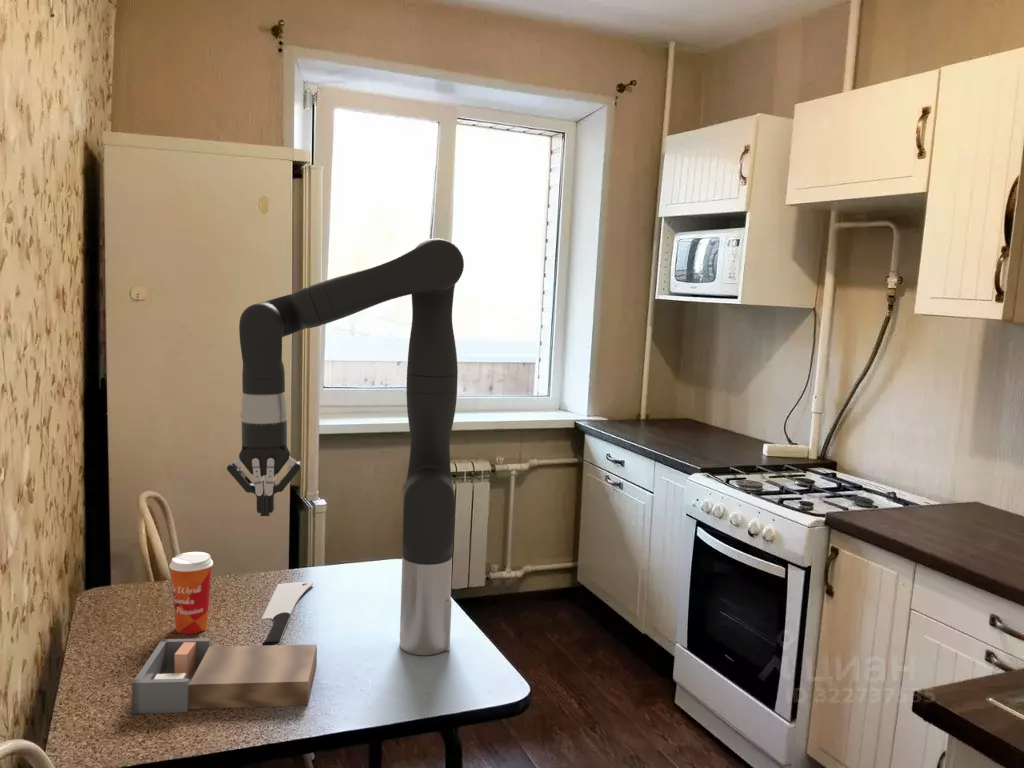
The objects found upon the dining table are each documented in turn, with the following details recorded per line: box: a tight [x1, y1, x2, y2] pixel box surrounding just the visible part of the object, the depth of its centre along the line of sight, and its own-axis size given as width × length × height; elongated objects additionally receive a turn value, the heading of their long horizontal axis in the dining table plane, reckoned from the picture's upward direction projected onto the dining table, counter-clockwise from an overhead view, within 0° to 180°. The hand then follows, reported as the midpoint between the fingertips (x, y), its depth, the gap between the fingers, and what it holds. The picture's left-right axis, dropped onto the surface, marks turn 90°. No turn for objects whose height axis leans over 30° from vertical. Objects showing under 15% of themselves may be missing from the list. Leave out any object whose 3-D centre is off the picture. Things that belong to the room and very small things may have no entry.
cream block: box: [154, 673, 186, 679], centre depth 125 cm, size 4×4×2 cm
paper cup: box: [169, 551, 214, 635], centre depth 149 cm, size 8×8×14 cm
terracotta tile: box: [175, 642, 196, 679], centre depth 131 cm, size 4×4×2 cm
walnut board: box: [189, 644, 318, 710], centre depth 129 cm, size 18×13×4 cm
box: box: [131, 637, 212, 715], centre depth 127 cm, size 8×15×5 cm, turn 8°
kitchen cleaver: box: [261, 580, 314, 646], centre depth 158 cm, size 31×2×10 cm
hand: (265, 514), depth 138 cm, fingers closed
